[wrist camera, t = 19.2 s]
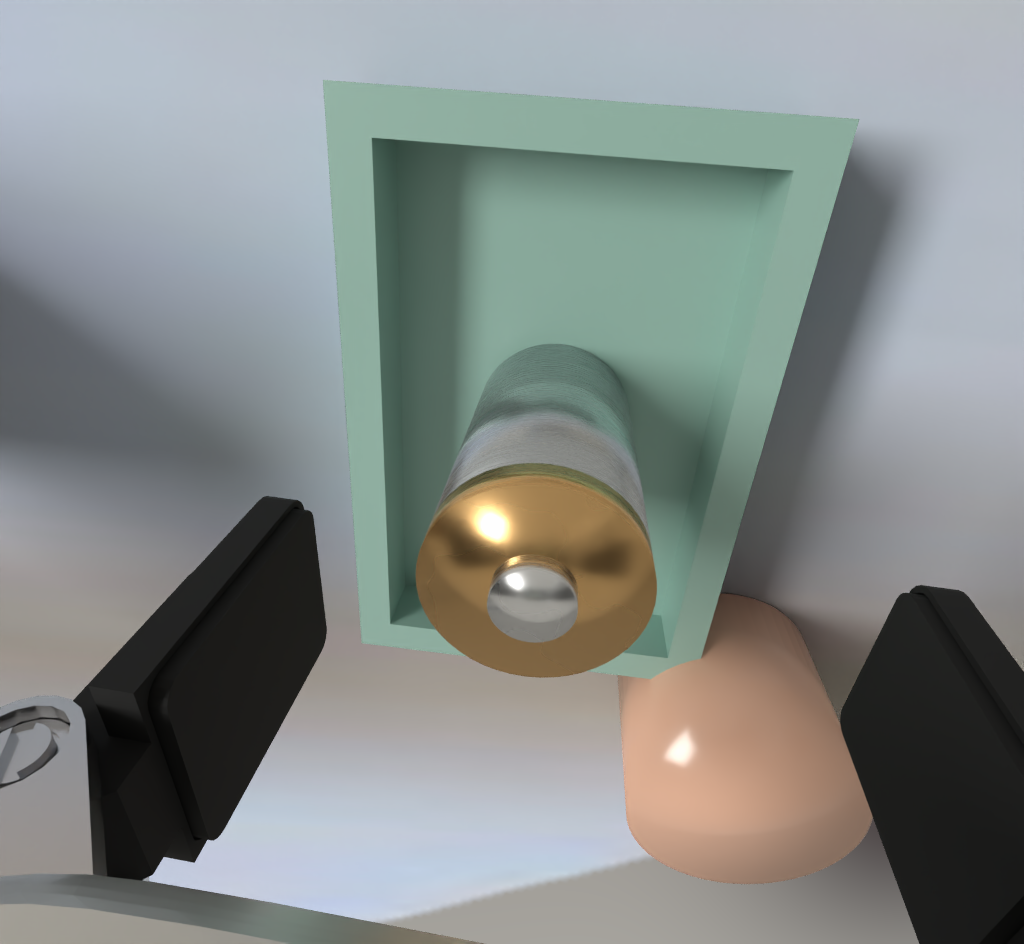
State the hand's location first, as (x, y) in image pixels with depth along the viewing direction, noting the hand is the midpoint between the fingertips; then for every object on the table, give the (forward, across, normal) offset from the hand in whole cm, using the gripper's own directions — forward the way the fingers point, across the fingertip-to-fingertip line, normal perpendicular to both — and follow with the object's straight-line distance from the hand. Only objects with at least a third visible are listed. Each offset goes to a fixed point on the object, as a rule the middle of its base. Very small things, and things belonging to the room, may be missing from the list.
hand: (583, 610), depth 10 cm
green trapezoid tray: (+10, +1, +1) cm, 10 cm away
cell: (+9, +1, +1) cm, 9 cm away
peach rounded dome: (+10, -6, +11) cm, 16 cm away
